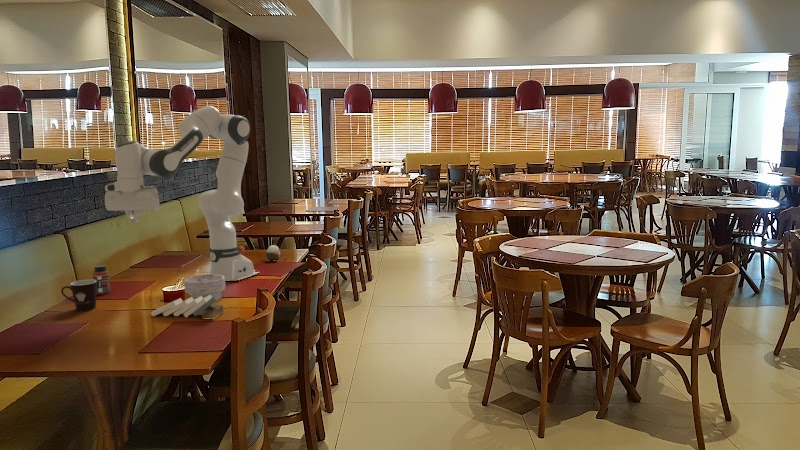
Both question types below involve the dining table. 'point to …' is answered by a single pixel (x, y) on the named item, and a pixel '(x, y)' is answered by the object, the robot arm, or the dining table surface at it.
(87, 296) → the coffee mug
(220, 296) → the domino
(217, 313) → the end block
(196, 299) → the domino
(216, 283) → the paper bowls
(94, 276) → the supplement bottle
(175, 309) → the domino
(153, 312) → the domino
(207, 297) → the domino
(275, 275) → the dining table surface
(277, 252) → the skull
